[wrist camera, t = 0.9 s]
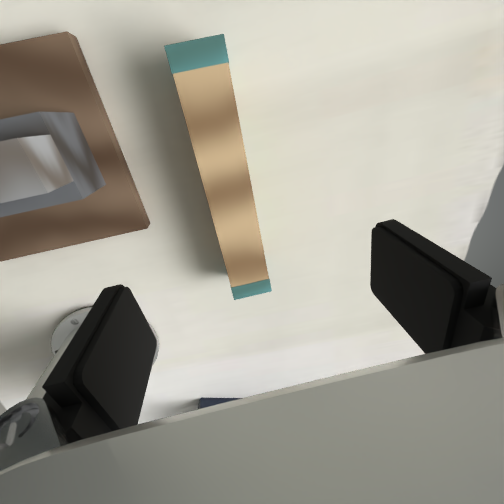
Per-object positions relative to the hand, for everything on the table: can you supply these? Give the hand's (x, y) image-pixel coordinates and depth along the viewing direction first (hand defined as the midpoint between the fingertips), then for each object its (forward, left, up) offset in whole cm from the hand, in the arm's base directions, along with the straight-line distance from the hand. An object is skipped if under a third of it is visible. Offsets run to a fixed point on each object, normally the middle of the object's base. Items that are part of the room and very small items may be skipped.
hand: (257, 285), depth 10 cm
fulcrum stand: (-8, +16, -20) cm, 27 cm away
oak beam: (0, 0, -20) cm, 20 cm away
